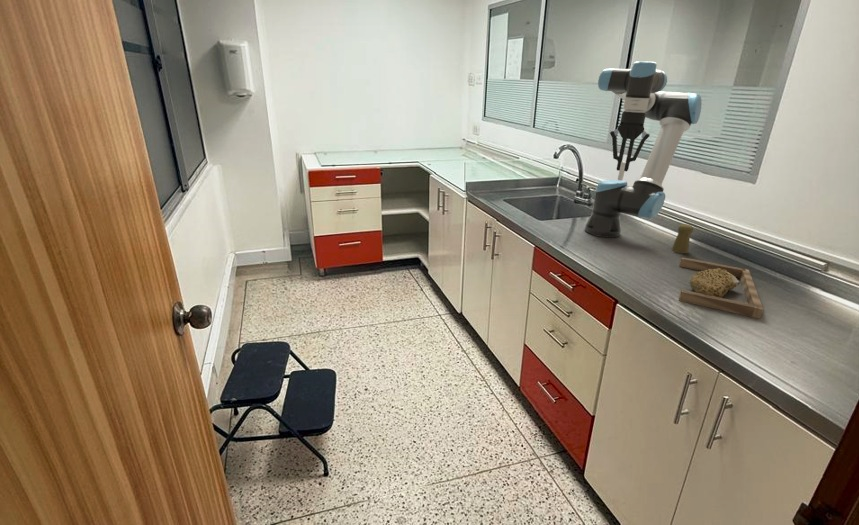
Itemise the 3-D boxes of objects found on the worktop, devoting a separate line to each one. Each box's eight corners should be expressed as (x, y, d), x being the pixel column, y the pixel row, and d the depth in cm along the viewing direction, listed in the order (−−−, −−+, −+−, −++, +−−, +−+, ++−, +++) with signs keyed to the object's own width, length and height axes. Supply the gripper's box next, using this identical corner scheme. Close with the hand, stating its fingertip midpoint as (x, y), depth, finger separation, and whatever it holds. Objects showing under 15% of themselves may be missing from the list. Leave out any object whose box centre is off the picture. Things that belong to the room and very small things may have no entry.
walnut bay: (679, 264, 164) (681, 257, 163) (745, 277, 155) (748, 269, 154) (679, 300, 136) (681, 291, 135) (760, 318, 127) (763, 309, 126)
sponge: (705, 282, 153) (671, 281, 143) (718, 263, 149) (685, 260, 139) (740, 305, 143) (706, 305, 133) (755, 285, 139) (722, 284, 129)
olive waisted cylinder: (684, 254, 174) (692, 228, 170) (668, 250, 178) (675, 224, 174) (690, 251, 178) (697, 225, 173) (674, 247, 182) (681, 221, 177)
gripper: (612, 110, 149) (599, 179, 158) (654, 113, 144) (638, 184, 153) (615, 109, 155) (602, 175, 164) (655, 112, 150) (640, 180, 159)
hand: (620, 179), depth 159 cm, fingers closed
